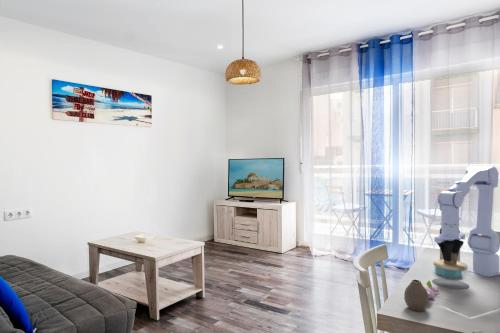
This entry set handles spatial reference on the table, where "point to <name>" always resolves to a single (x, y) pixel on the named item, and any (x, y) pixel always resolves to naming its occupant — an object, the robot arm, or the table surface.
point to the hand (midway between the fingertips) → (450, 260)
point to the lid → (451, 263)
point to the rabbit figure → (431, 290)
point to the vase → (416, 296)
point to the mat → (450, 283)
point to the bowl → (448, 272)
